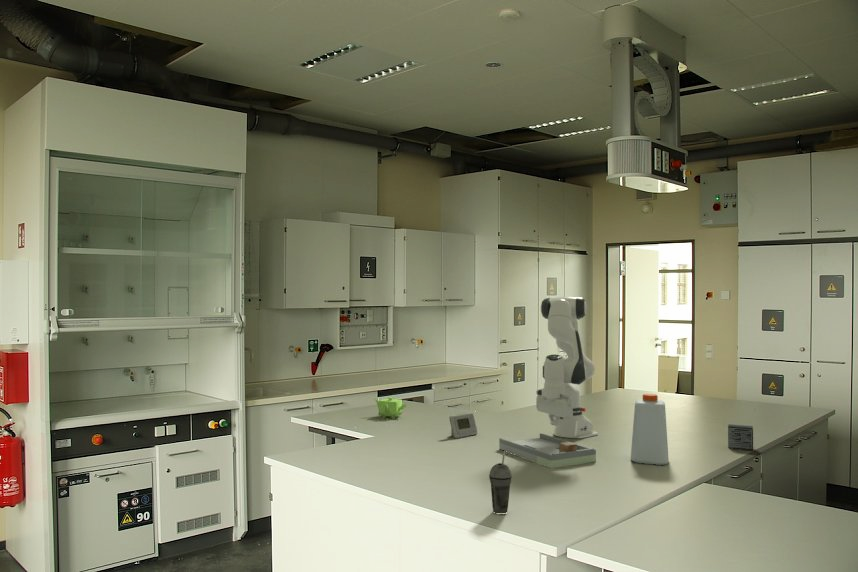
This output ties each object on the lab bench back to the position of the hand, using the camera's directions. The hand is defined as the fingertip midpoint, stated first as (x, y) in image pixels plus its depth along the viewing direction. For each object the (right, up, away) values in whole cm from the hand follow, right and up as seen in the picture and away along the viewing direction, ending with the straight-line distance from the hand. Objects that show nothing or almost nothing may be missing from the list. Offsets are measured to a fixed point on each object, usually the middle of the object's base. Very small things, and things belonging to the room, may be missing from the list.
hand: (554, 425), depth 284 cm
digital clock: (-37, -14, +41) cm, 57 cm away
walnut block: (+4, -11, -9) cm, 14 cm away
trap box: (-3, -14, +4) cm, 15 cm away
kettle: (-76, -14, +89) cm, 118 cm away
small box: (+90, -16, +22) cm, 94 cm away
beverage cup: (-31, -13, -73) cm, 80 cm away
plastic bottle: (+40, -15, -3) cm, 43 cm away
